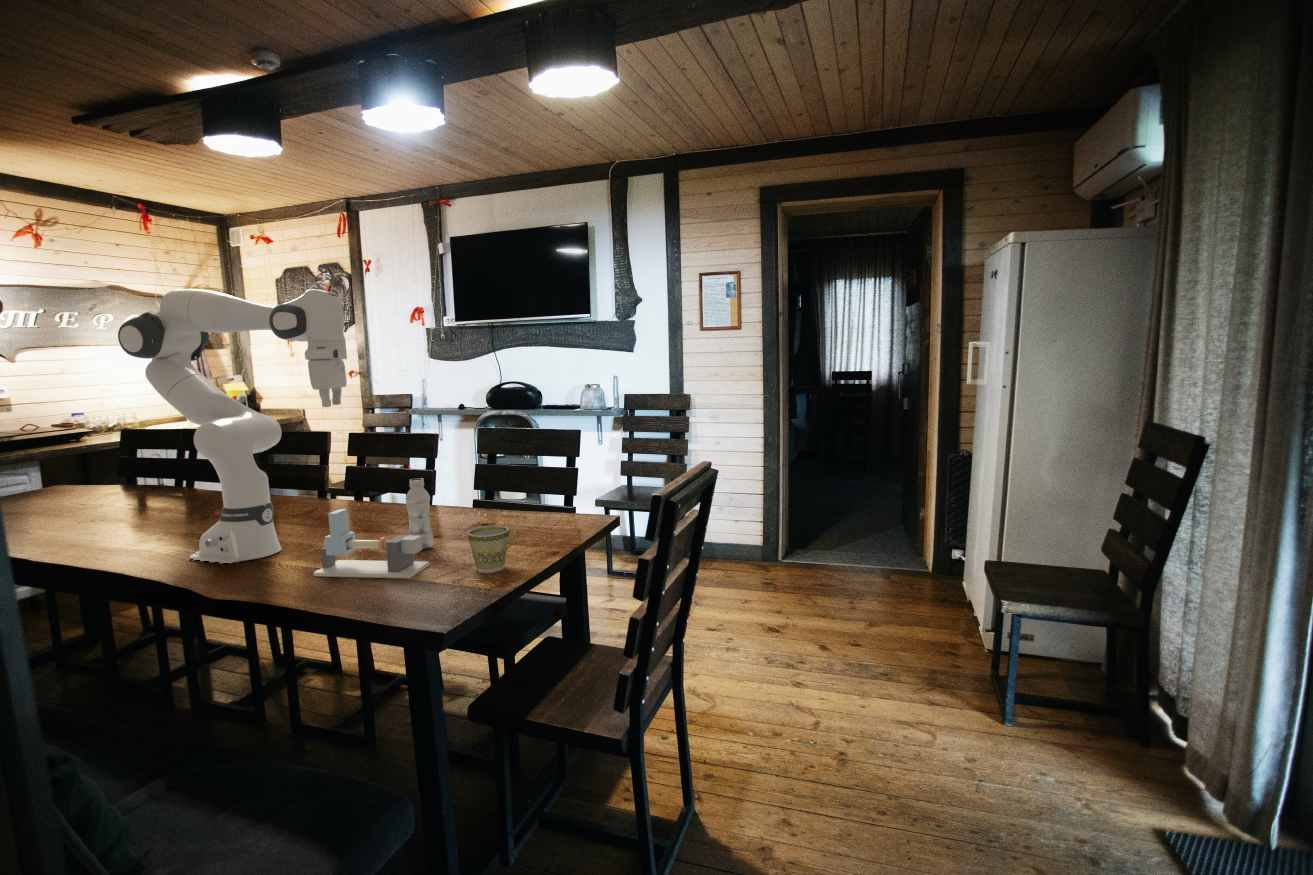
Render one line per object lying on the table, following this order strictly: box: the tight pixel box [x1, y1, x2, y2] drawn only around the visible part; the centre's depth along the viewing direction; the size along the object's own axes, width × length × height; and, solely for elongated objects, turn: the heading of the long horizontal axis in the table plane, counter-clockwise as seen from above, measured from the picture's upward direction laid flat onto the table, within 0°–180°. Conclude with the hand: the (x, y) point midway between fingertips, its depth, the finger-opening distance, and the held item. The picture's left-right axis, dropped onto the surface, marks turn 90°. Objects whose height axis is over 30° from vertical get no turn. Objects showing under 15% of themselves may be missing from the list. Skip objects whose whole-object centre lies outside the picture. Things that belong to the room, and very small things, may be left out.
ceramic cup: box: [467, 525, 520, 574], centre depth 162 cm, size 13×10×10 cm
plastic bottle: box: [405, 477, 434, 551], centre depth 180 cm, size 6×7×20 cm
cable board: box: [313, 534, 430, 579], centre depth 163 cm, size 26×10×9 cm, turn 82°
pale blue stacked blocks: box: [324, 508, 357, 557], centre depth 163 cm, size 5×5×11 cm
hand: (331, 405), depth 169 cm, fingers open, 8 cm apart
